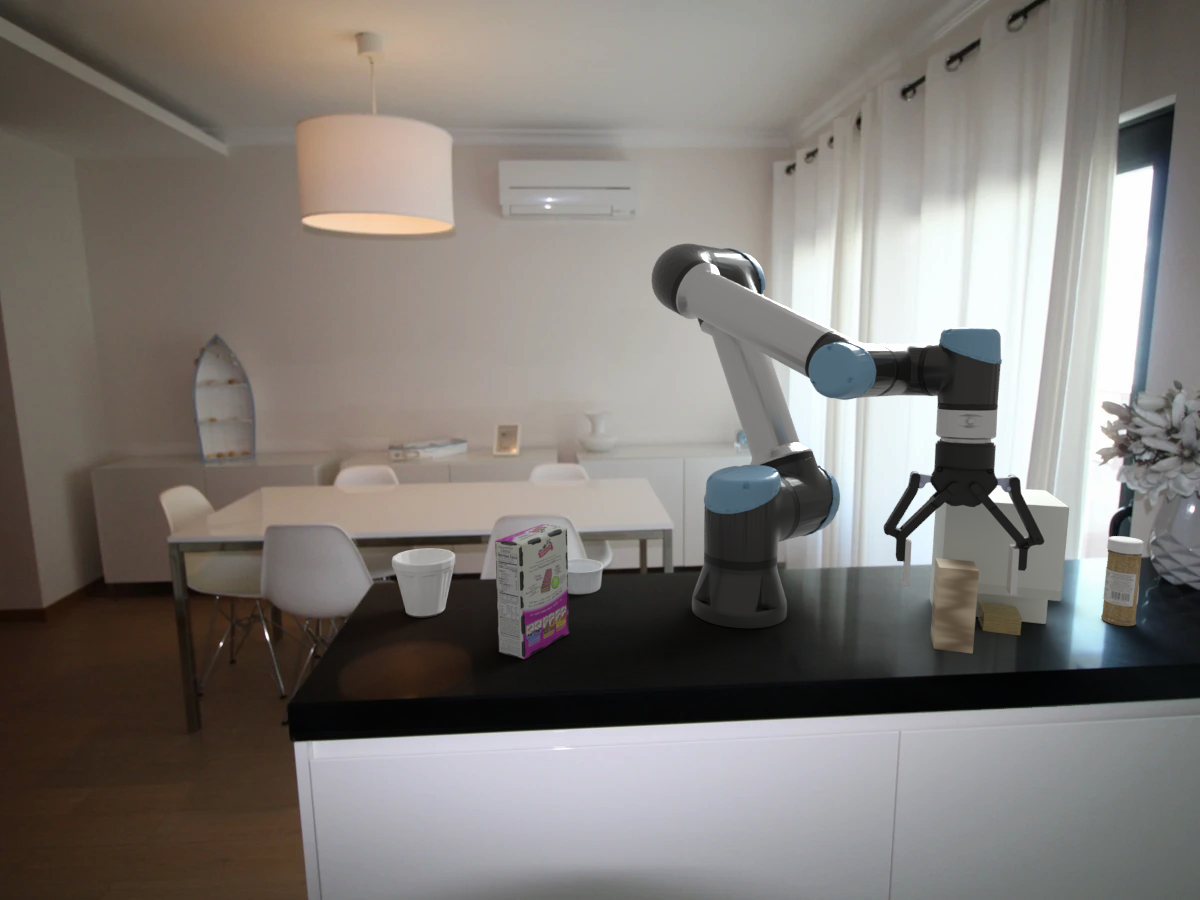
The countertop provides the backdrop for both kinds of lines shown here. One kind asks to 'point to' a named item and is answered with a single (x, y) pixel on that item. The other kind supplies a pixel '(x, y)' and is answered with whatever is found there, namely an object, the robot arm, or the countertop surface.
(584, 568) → the ramekin
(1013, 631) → the small wooden block
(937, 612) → the wooden rectangular block
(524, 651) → the candy bar box
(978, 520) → the cabinet
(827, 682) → the countertop surface
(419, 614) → the cup
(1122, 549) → the sprinkles bottle
